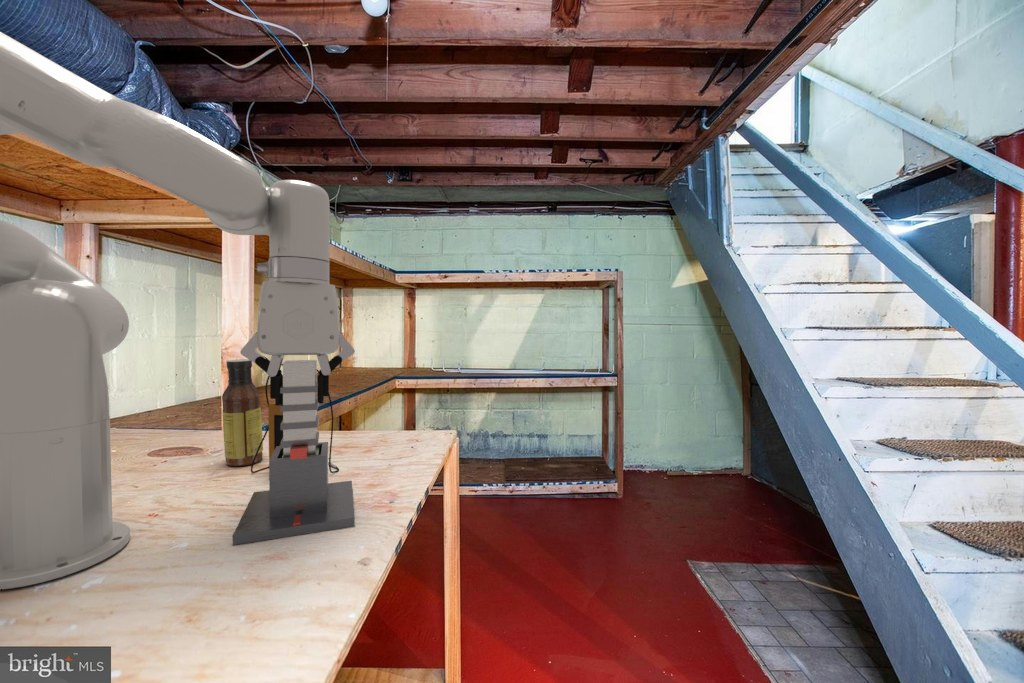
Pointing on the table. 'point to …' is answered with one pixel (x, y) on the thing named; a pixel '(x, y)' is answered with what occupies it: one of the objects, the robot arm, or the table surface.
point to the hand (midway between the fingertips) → (300, 401)
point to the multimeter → (277, 434)
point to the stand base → (296, 499)
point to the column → (299, 406)
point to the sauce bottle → (241, 415)
